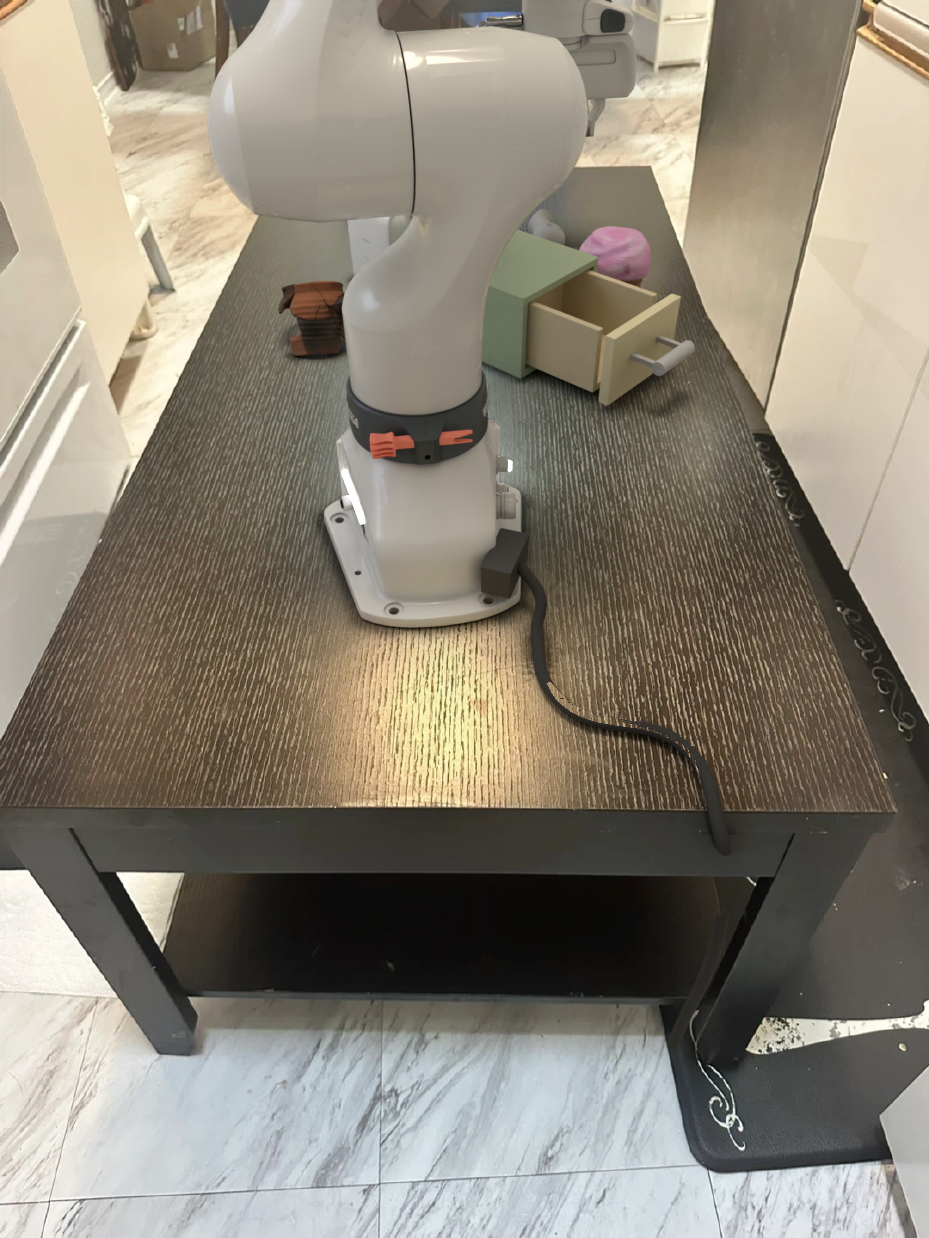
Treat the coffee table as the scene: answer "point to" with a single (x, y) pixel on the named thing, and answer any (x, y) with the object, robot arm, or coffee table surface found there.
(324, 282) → the pottery mug
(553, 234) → the smooth white sculpture
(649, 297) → the drawer
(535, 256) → the cabinet
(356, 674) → the coffee table surface
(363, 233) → the photo printer
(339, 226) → the coffee table surface
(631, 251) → the cupcake
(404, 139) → the robot arm
